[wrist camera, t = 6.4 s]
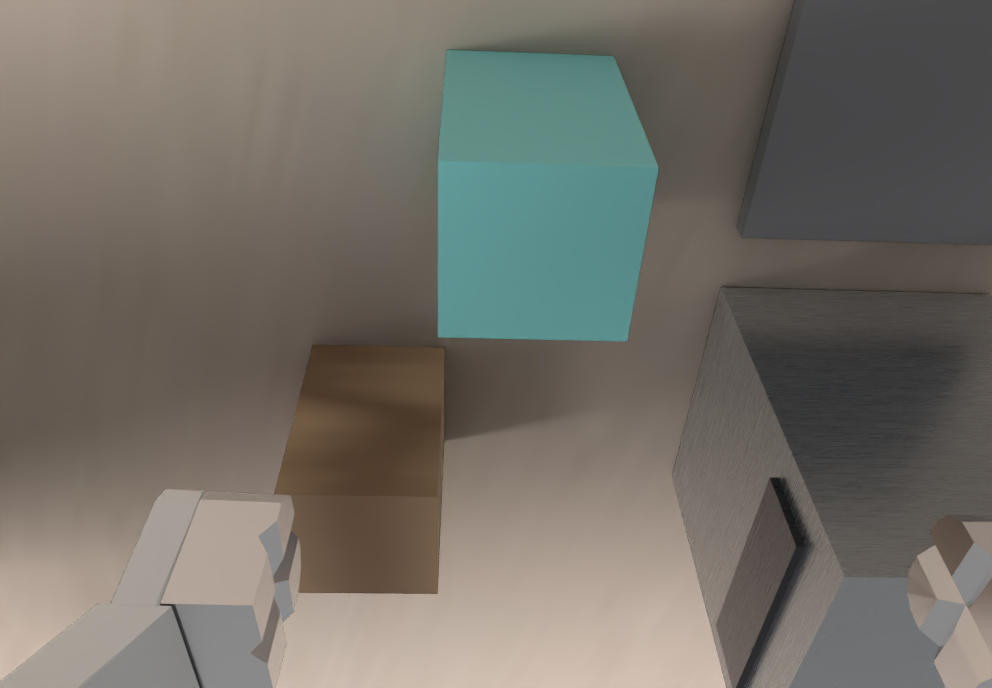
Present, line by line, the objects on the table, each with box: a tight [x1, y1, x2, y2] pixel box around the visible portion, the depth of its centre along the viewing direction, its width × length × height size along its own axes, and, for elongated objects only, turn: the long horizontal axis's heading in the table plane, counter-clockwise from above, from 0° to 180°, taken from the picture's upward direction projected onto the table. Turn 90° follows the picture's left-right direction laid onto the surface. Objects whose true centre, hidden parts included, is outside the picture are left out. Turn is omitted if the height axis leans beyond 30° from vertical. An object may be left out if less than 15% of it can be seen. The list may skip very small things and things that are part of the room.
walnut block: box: [274, 345, 445, 594], centre depth 23 cm, size 4×4×6 cm
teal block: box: [438, 50, 659, 341], centre depth 18 cm, size 4×4×6 cm
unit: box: [672, 287, 992, 688], centre depth 22 cm, size 8×8×10 cm
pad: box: [737, 0, 992, 245], centre depth 20 cm, size 8×7×1 cm
